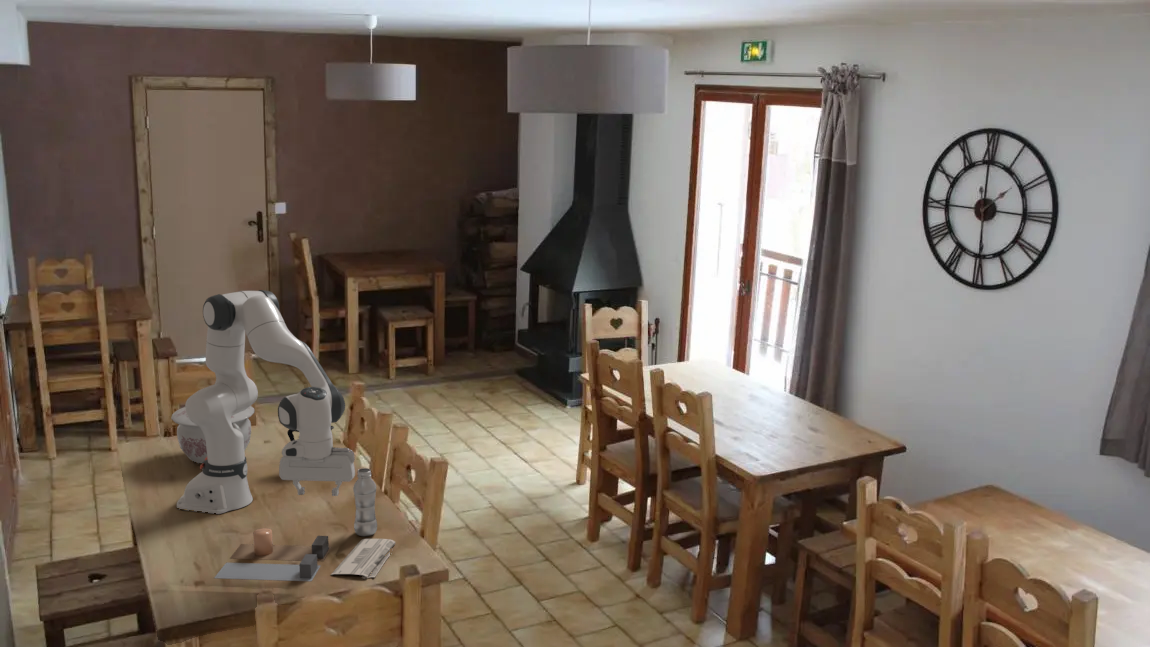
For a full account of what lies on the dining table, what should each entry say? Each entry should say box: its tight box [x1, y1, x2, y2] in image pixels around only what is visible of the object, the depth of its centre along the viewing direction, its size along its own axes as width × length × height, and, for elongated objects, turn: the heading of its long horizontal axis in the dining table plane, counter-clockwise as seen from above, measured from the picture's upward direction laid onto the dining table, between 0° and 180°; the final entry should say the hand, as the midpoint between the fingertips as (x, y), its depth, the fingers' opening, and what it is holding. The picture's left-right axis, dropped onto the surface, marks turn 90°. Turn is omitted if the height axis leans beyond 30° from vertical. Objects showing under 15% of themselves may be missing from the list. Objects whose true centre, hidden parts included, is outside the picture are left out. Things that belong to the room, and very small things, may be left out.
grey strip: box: [213, 554, 321, 582], centre depth 274 cm, size 26×9×5 cm, turn 88°
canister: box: [252, 527, 274, 556], centre depth 284 cm, size 5×5×6 cm
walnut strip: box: [229, 535, 332, 562], centre depth 285 cm, size 26×9×5 cm, turn 88°
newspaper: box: [329, 538, 396, 580], centre depth 285 cm, size 23×12×2 cm, turn 170°
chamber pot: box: [170, 405, 255, 464], centre depth 355 cm, size 28×28×21 cm
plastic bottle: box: [352, 467, 378, 537], centre depth 298 cm, size 6×7×20 cm
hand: (318, 494), depth 281 cm, fingers open, 8 cm apart
